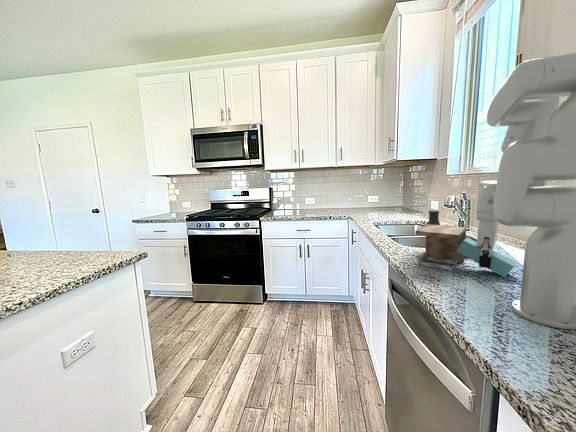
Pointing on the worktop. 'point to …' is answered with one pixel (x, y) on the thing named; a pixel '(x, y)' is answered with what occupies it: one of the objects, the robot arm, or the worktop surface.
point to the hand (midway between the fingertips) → (485, 264)
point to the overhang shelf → (442, 244)
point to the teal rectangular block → (498, 261)
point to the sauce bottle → (433, 219)
